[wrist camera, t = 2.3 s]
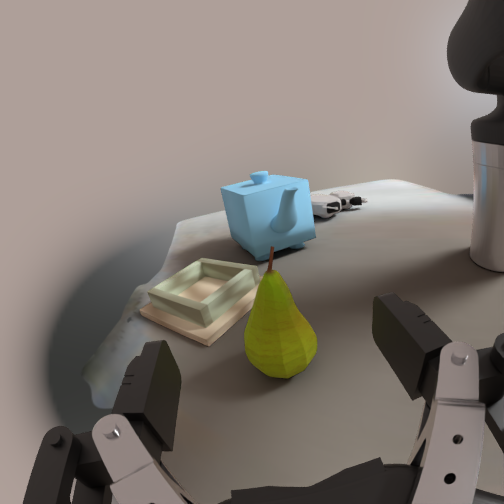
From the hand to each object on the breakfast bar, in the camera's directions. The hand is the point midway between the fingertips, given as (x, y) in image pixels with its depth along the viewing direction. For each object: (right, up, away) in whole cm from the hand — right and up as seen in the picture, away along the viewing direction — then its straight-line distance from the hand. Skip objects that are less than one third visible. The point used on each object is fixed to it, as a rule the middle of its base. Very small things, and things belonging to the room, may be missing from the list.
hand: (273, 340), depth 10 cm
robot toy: (+18, +12, +56) cm, 60 cm away
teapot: (+4, +4, +42) cm, 42 cm away
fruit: (+2, -8, +15) cm, 17 cm away
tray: (-7, -4, +29) cm, 30 cm away
